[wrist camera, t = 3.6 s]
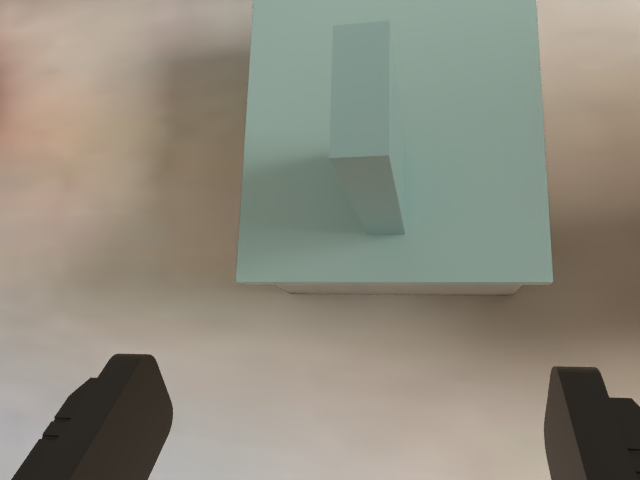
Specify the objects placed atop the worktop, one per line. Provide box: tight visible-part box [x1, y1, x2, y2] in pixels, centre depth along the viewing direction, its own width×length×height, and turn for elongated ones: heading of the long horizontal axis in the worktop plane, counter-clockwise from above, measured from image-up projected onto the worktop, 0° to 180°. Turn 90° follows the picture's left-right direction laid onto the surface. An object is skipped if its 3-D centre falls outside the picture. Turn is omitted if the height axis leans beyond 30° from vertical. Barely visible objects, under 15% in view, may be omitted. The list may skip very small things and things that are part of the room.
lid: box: [236, 0, 553, 285], centre depth 22 cm, size 17×13×11 cm
